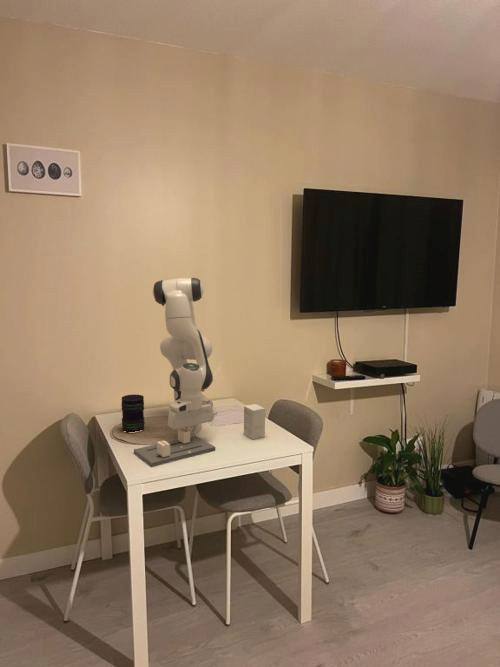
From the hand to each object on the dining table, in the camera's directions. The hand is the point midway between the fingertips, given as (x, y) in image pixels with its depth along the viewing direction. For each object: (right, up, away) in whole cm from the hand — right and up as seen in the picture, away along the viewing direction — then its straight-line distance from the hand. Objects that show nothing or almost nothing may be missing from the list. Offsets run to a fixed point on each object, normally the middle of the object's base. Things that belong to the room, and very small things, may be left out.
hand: (191, 435), depth 207 cm
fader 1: (-9, -4, -16) cm, 19 cm away
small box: (+26, -3, +11) cm, 28 cm away
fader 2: (-3, -2, -2) cm, 4 cm away
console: (-6, -5, -8) cm, 11 cm away
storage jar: (-28, -1, +16) cm, 32 cm away
